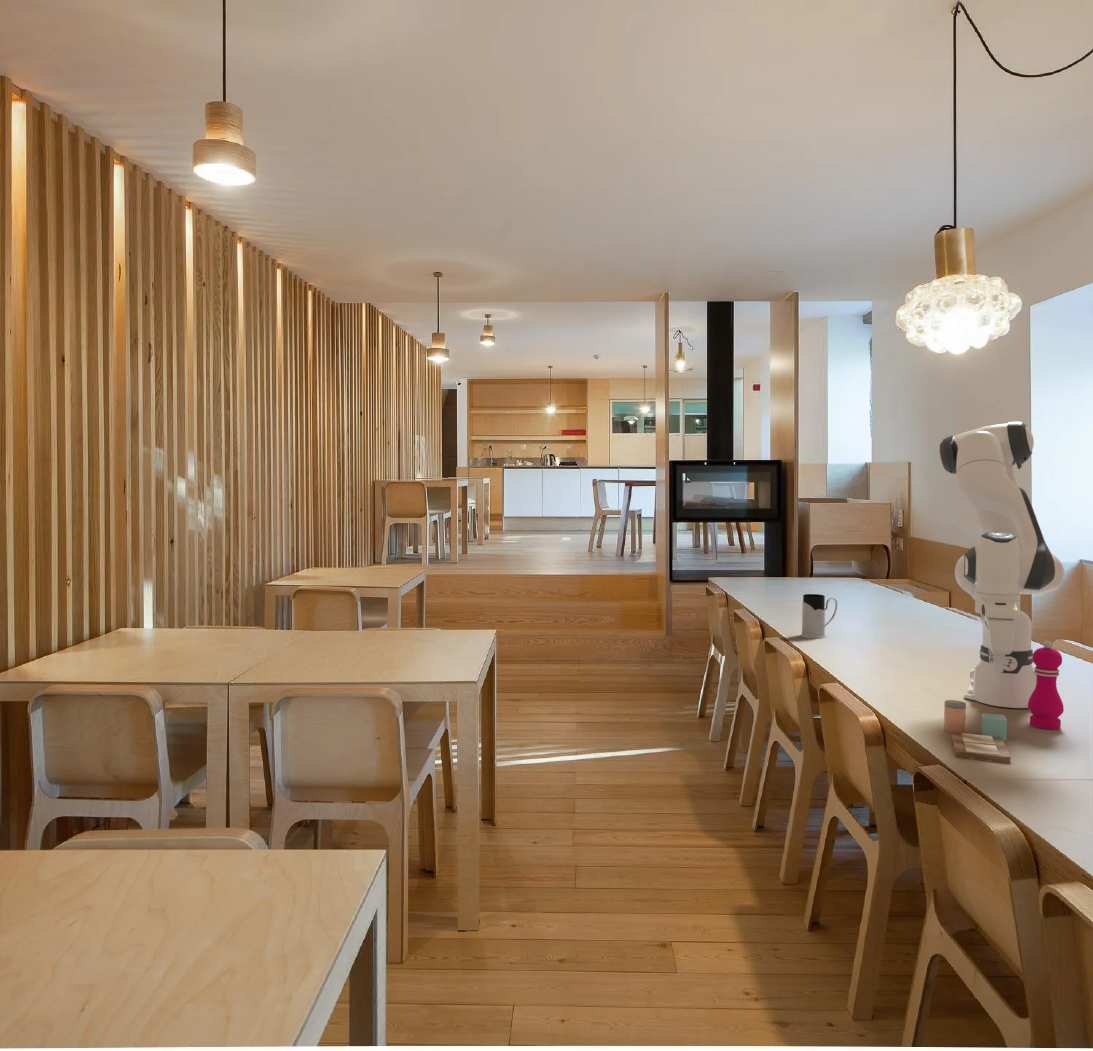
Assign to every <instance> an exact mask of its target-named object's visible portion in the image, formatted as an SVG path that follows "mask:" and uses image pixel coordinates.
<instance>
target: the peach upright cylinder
mask: <svg viewBox="0 0 1093 1051" xmlns="http://www.w3.org/2000/svg"><path fill="white" fill-rule="evenodd" d="M943 710H944V712H943V713H944V714H943V732H944V733H946V734H949V735H951V732H952V733H965V734H966V718H967V716H966V714H967V703H966V702H964V701H961V700H957V699H956V700H955V699H946V700H944V709H943Z"/></svg>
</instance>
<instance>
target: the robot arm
mask: <svg viewBox="0 0 1093 1051" xmlns="http://www.w3.org/2000/svg"><path fill="white" fill-rule="evenodd" d="M1034 441H1035V440H1034V436H1033V433H1032V431H1031V430H1030V429H1029V428H1028V426H1027V424H1025V423H1024V422H1022V421H1009V422H1007V423H999V424H993V425H986V426H982V427H979V428H976V429H972V430H968V431H965V432H961V433H958V434H951V435H949V436H946V437H945V438H944V439H943V440H941V442H940V444H939V449H938V460H939V461H940V465H942V467H943V469H944V470H945V471H946V472H947V473H949V474H953V475H956V481H957V487H958V488H957V489H958V491H959V494H960V495H961V497H962V498H964V500H965V501H967V502H968V503H970V504H971V505H973V506H974V509H975V514H976V515H975V516H976V522H977V529H978V531H979V533H980V534H981V535H980V536H979V537H978V538H979V539H978V543H977V544H978V545H976V546H973V547H970V548H969V550H967V551H965V553H964V554H963V555H962V556H960V558H959V559H958V560H957V562H956V564H955V567H954V577H955V580H956V583H957V584H958V586H959V587H960V588H961V589H962V591H964V592H966V593H967V594H968V595H970V596H971V598H972V599H973V600H974V605H975V606H974V612H975V613H977V614H980V620H982V621H981V625H982V627H981V628H982V644H981V645H980V648H979V658H980V661H979V663H978V664H976V665H975V666H974V668H973V669H971V670H969V671H970V672H969V678H970V679H971V682H970V684H969V686H968V688H967V689H966V691H965V693H964V695H963V697H964V698H965V699H967V700H971V701H976V702H979V703H982V704H985V705H990V706H993V707H994V706H995V707H1001V708H1011V709H1028V701H1029V698H1030V696H1031V695H1032V693H1033V691H1034V689H1035V687H1036V682H1037V677H1036V674H1035V673H1034V671H1035V669H1034V668H1035V667H1033V663H1034V662H1033V659H1032V656H1033V653H1034V650H1033V649H1032V631H1033V630H1032V628H1033V623H1032V620H1031V617H1029V615H1028V614H1027V613H1026V612H1024V611H1022V610H1021V595H1038V594H1040V595H1041V594H1047V593H1050V592H1054V591H1056V590H1058V589H1059V588H1060V586H1062V583H1063V581H1064V579H1065V569H1064V565H1063V563H1062V562H1061V560H1060V558H1059V557H1058V556H1056V555H1055V554H1053V553H1051V550H1050V548H1049V547H1048V545H1047V543H1046V541H1045V539H1044V538H1045V537H1044V535H1043V533H1042V530H1041V529H1042V528H1041V527H1040V525H1039V521H1038V519H1037V516H1036V513H1035V509H1034V508H1033V505H1032V502H1031V501H1030V498H1029V496H1028V493H1027V492H1026V490H1025V489H1023V488H1022V487H1020V485H1019V481H1018V478H1017V475H1016V473H1015V470H1014V468H1013V466H1015V465H1016V467H1017V469H1018V470H1020V469H1022V468H1023V464H1024V463H1025V462H1027V461H1028V460H1029V459H1030V458H1031V455H1032V454H1033V449H1034V446H1035V444H1034V443H1035V442H1034Z"/></svg>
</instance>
